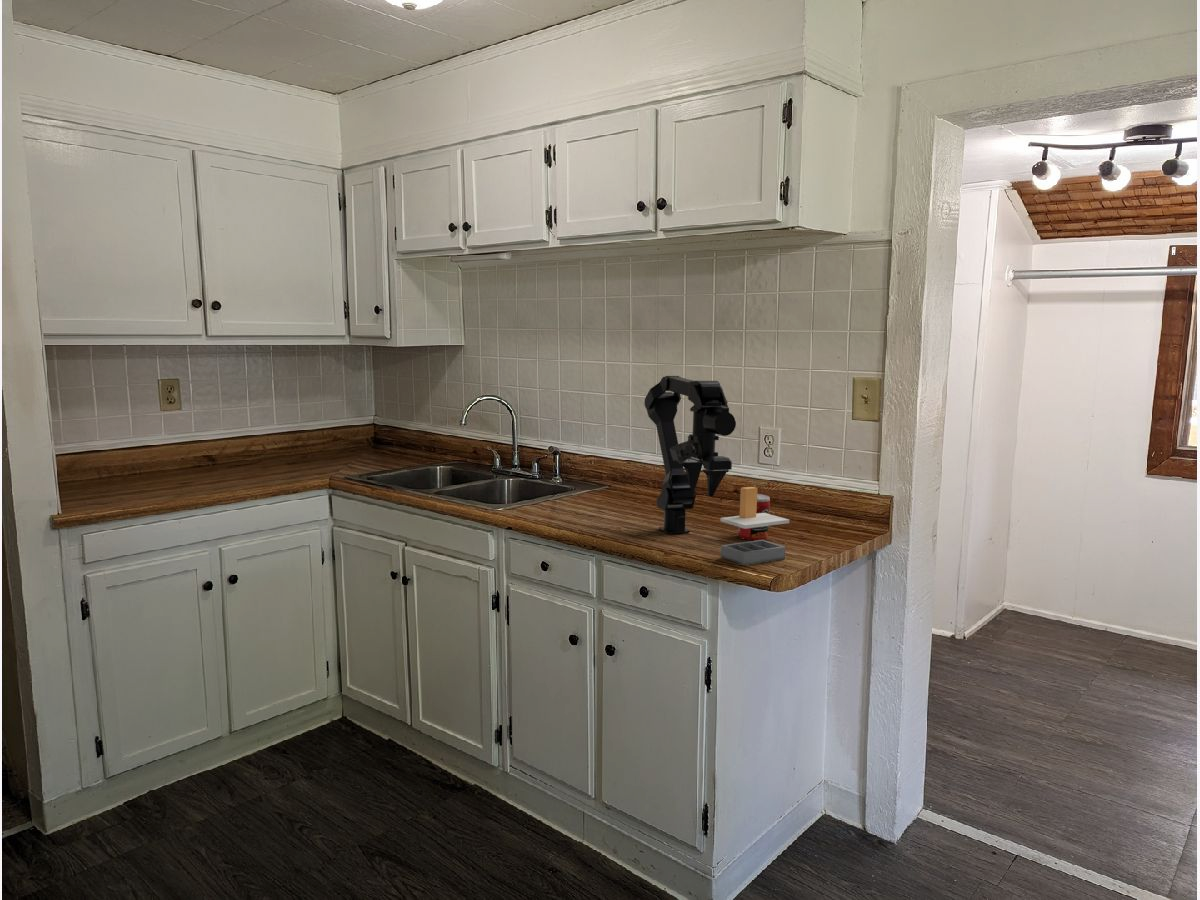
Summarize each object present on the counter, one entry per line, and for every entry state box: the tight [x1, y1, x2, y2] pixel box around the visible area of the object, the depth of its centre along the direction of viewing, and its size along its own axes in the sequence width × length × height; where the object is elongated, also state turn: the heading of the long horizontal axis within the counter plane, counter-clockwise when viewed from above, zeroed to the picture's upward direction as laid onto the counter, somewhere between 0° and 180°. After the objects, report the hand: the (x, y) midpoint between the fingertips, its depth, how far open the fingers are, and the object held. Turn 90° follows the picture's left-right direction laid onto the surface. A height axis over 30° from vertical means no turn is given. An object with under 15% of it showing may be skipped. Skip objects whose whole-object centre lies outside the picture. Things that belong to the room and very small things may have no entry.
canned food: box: [737, 493, 771, 541], centre depth 224 cm, size 8×8×11 cm
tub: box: [720, 540, 786, 566], centre depth 203 cm, size 8×13×3 cm, turn 122°
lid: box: [720, 486, 790, 529], centre depth 202 cm, size 9×14×8 cm, turn 122°
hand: (701, 493), depth 215 cm, fingers open, 9 cm apart
